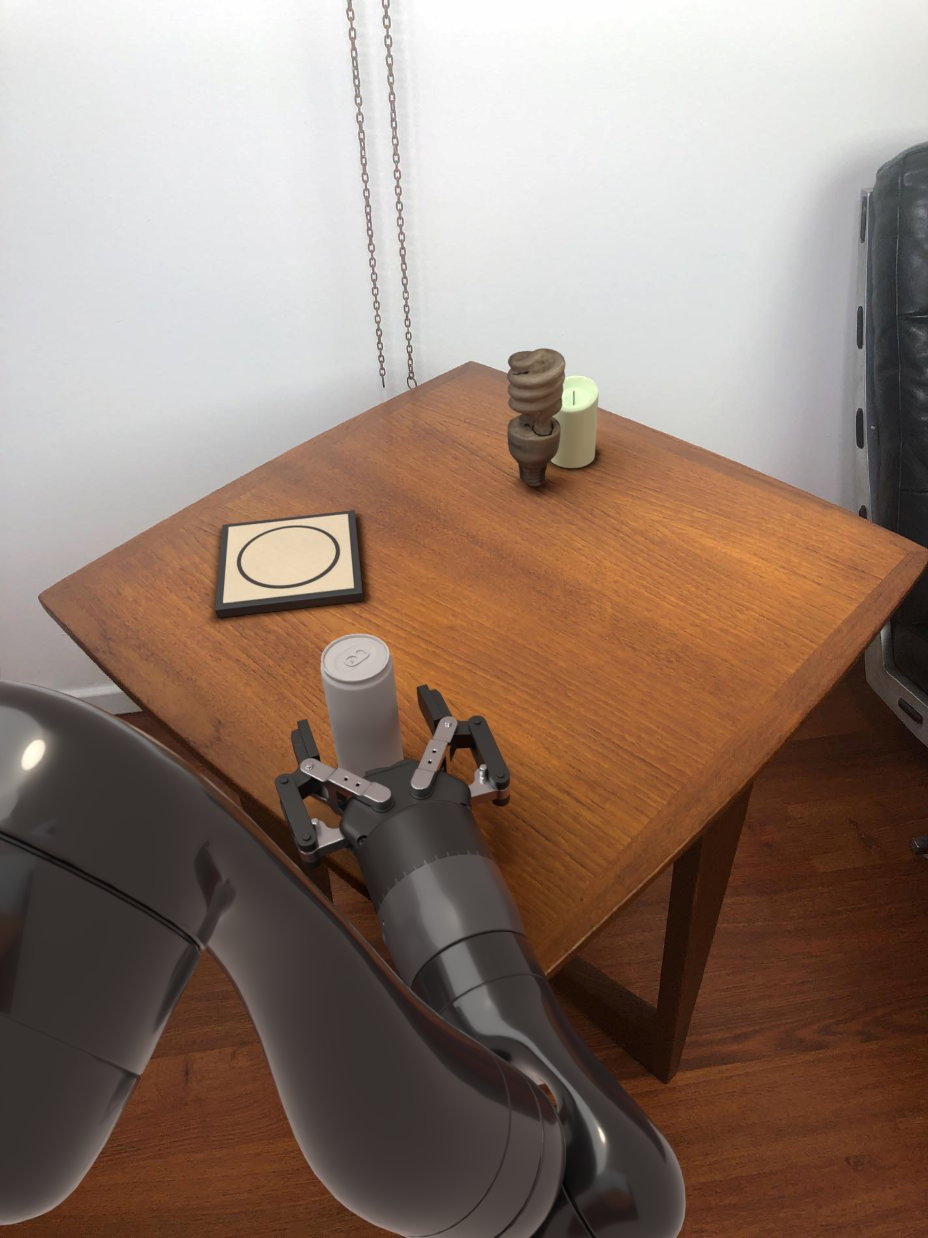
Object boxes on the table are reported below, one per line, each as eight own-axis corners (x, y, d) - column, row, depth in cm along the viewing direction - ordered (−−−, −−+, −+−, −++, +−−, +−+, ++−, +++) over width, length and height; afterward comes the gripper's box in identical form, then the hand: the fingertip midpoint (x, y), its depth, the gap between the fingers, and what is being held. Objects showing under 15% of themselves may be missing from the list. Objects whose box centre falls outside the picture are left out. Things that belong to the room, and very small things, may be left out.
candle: (585, 472, 100) (589, 402, 95) (540, 463, 102) (542, 393, 97) (601, 449, 104) (605, 379, 98) (557, 440, 106) (559, 371, 100)
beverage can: (327, 776, 71) (303, 659, 63) (374, 739, 74) (357, 622, 66) (371, 811, 69) (352, 693, 61) (419, 771, 71) (407, 653, 63)
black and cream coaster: (217, 618, 85) (214, 608, 84) (224, 532, 95) (221, 522, 94) (363, 601, 86) (362, 590, 85) (355, 518, 96) (354, 508, 95)
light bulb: (572, 484, 99) (578, 348, 89) (539, 508, 96) (542, 370, 86) (529, 466, 102) (530, 332, 92) (496, 489, 99) (493, 353, 89)
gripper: (557, 823, 54) (457, 643, 66) (312, 907, 51) (251, 701, 62) (554, 897, 59) (461, 718, 71) (330, 979, 56) (270, 776, 67)
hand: (363, 710), depth 67 cm, fingers open, 8 cm apart
